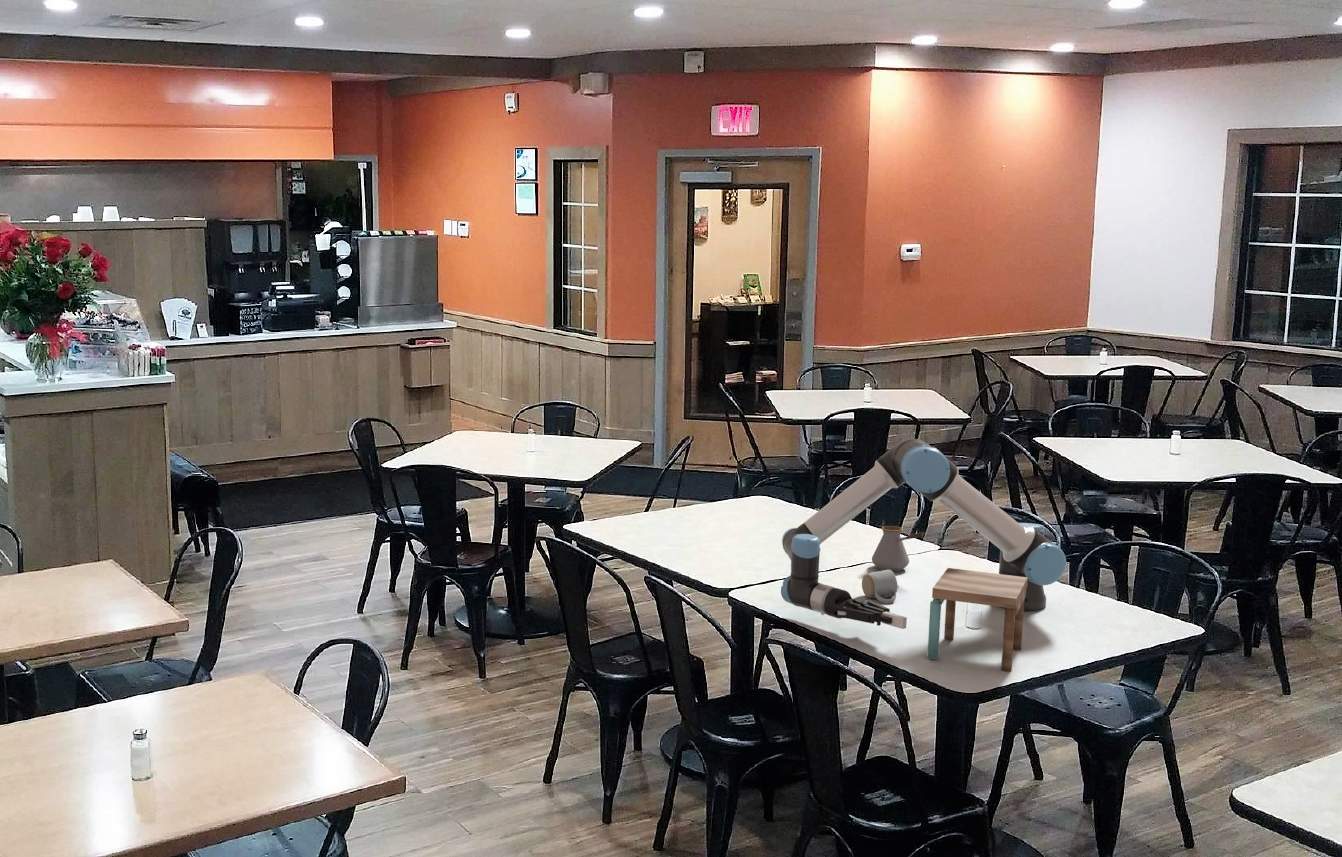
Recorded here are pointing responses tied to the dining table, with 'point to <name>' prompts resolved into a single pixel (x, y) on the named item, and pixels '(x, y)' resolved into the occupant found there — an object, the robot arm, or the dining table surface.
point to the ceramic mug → (880, 585)
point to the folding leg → (934, 628)
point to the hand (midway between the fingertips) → (904, 623)
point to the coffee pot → (892, 550)
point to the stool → (985, 602)
